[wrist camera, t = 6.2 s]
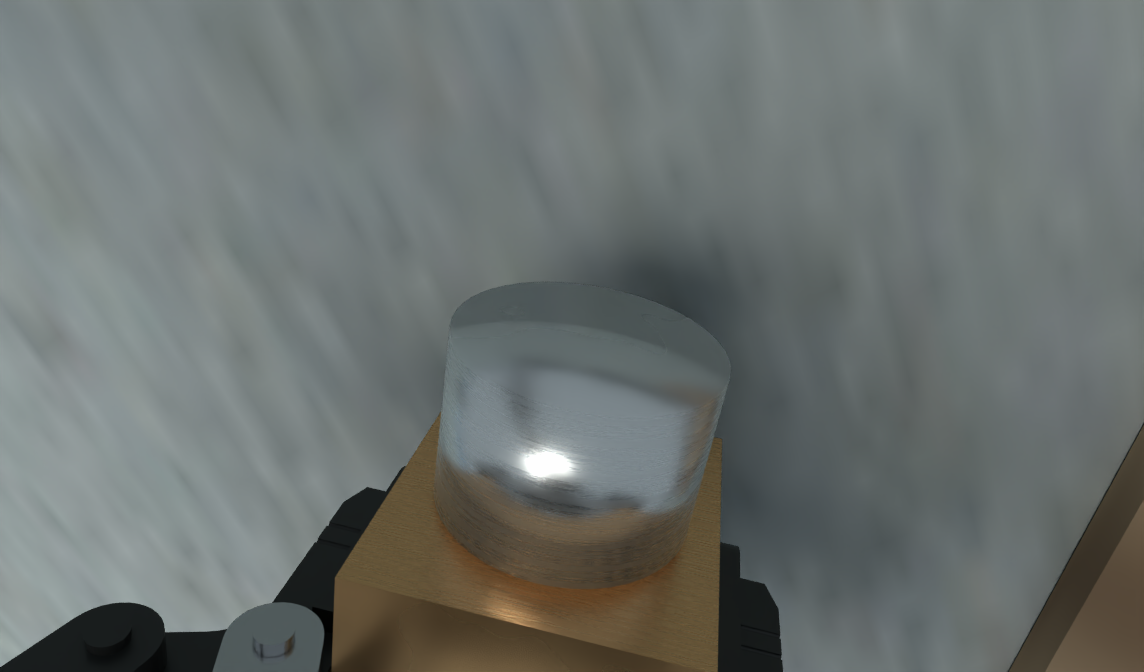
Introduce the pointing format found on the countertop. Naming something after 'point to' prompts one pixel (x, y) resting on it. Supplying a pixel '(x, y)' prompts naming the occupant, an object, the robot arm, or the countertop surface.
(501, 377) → the coupling
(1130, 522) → the wooden tray with rails
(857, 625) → the countertop surface
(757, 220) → the countertop surface
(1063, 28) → the countertop surface
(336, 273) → the countertop surface
